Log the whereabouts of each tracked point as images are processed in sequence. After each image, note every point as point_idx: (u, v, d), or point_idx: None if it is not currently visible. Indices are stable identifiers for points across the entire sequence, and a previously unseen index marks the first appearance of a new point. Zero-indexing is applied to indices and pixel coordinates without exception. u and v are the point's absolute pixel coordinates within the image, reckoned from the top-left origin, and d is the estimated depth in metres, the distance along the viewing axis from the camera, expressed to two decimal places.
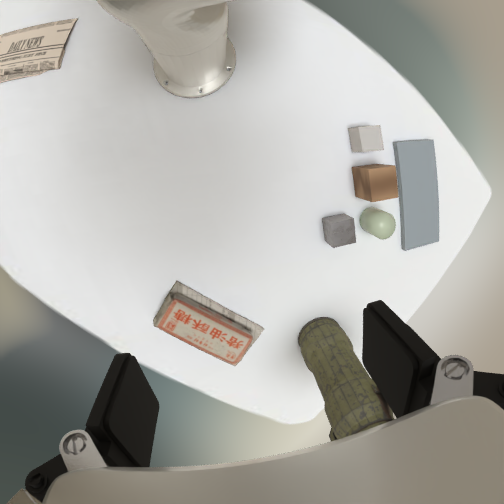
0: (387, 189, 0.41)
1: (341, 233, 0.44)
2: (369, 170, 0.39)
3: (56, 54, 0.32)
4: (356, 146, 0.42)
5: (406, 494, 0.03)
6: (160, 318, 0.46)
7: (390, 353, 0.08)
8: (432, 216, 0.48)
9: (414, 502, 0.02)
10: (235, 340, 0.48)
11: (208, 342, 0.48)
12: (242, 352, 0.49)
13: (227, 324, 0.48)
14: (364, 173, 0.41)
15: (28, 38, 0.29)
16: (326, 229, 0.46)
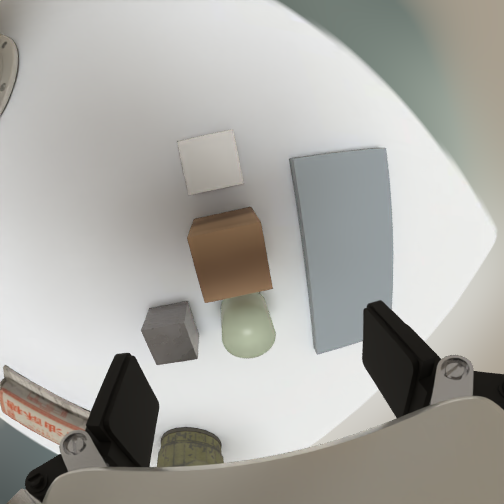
0: (242, 276, 0.21)
1: (165, 345, 0.24)
2: (190, 239, 0.19)
3: None
4: None
5: (406, 494, 0.03)
6: None
7: (390, 353, 0.08)
8: (376, 295, 0.28)
9: (414, 502, 0.02)
10: None
11: (49, 434, 0.27)
12: None
13: (59, 419, 0.28)
14: None
15: None
16: None
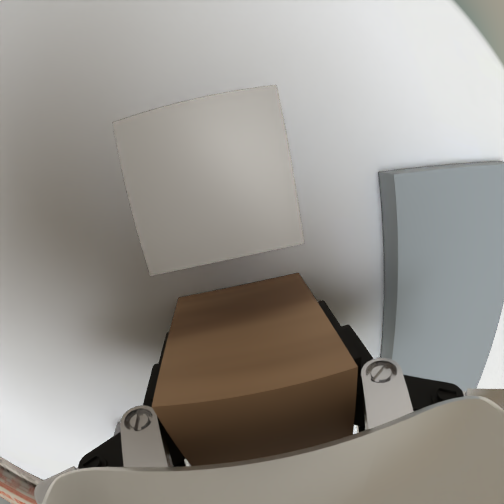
0: None
1: None
2: (161, 411, 0.06)
3: None
4: None
5: (406, 494, 0.03)
6: None
7: None
8: (464, 383, 0.15)
9: (414, 502, 0.02)
10: None
11: None
12: None
13: (27, 497, 0.14)
14: None
15: None
16: None
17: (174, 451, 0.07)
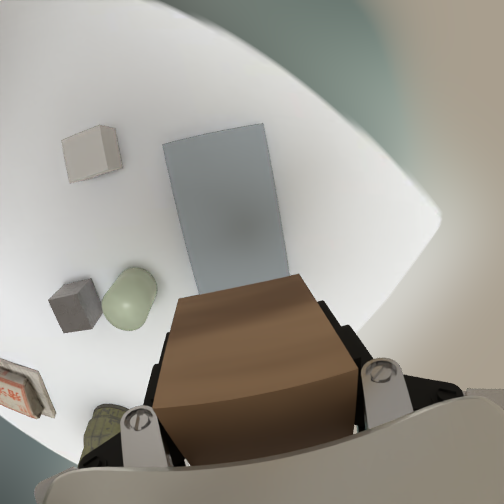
0: None
1: (66, 315, 0.25)
2: (161, 413, 0.06)
3: None
4: None
5: (406, 494, 0.03)
6: None
7: None
8: (270, 279, 0.29)
9: (414, 502, 0.02)
10: (12, 393, 0.28)
11: (1, 398, 0.28)
12: (26, 404, 0.28)
13: (0, 377, 0.28)
14: None
15: None
16: None
17: (174, 451, 0.07)
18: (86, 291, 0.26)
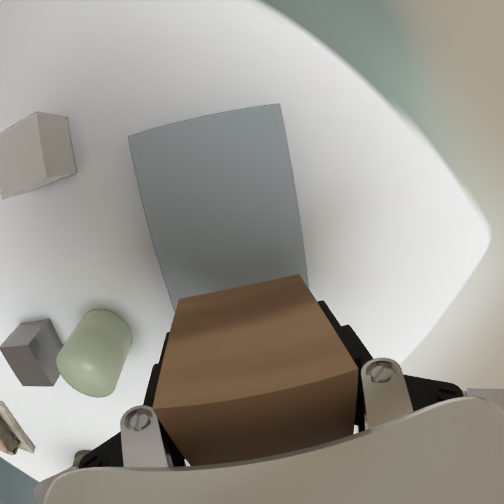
0: None
1: (21, 367, 0.16)
2: (162, 413, 0.06)
3: None
4: None
5: (406, 494, 0.03)
6: None
7: None
8: None
9: (414, 502, 0.02)
10: None
11: None
12: None
13: None
14: None
15: None
16: None
17: (174, 451, 0.07)
18: (42, 338, 0.18)
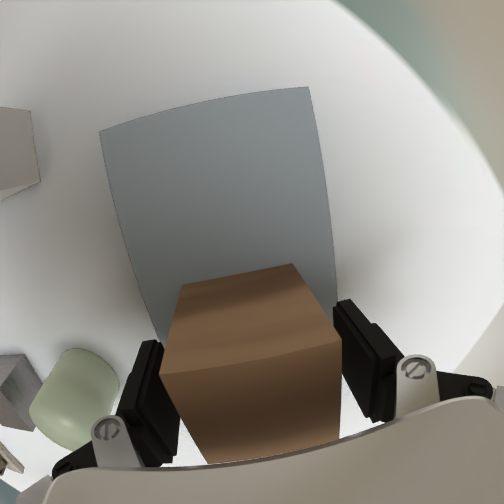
0: (285, 432, 0.08)
1: None
2: (167, 378, 0.07)
3: None
4: None
5: (406, 494, 0.03)
6: None
7: (354, 351, 0.09)
8: None
9: (414, 502, 0.02)
10: None
11: None
12: None
13: None
14: None
15: None
16: None
17: (146, 458, 0.07)
18: (16, 378, 0.13)
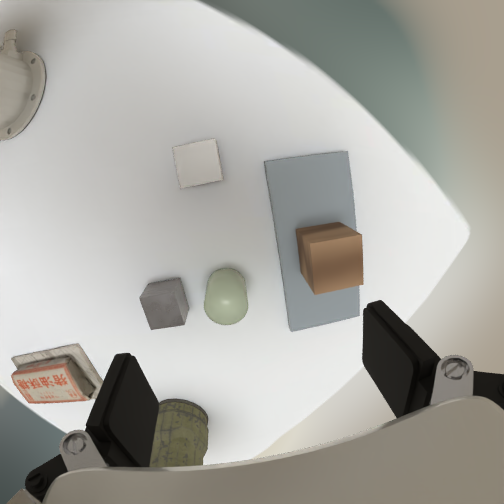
0: (344, 274, 0.26)
1: (158, 312, 0.30)
2: (312, 245, 0.25)
3: None
4: None
5: (406, 494, 0.03)
6: None
7: (390, 353, 0.08)
8: None
9: (414, 502, 0.02)
10: (57, 377, 0.32)
11: (51, 393, 0.33)
12: (73, 384, 0.32)
13: (44, 367, 0.32)
14: (306, 247, 0.27)
15: None
16: None
17: None
18: (178, 289, 0.31)
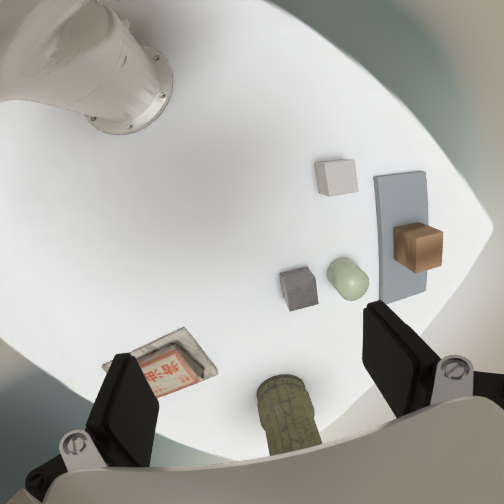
0: (432, 259, 0.35)
1: (299, 295, 0.38)
2: (417, 239, 0.33)
3: None
4: (323, 187, 0.35)
5: (406, 494, 0.03)
6: None
7: (390, 353, 0.08)
8: None
9: (414, 502, 0.02)
10: (167, 366, 0.39)
11: (158, 386, 0.40)
12: (186, 368, 0.39)
13: (149, 361, 0.40)
14: (410, 240, 0.35)
15: None
16: (283, 288, 0.40)
17: None
18: None
